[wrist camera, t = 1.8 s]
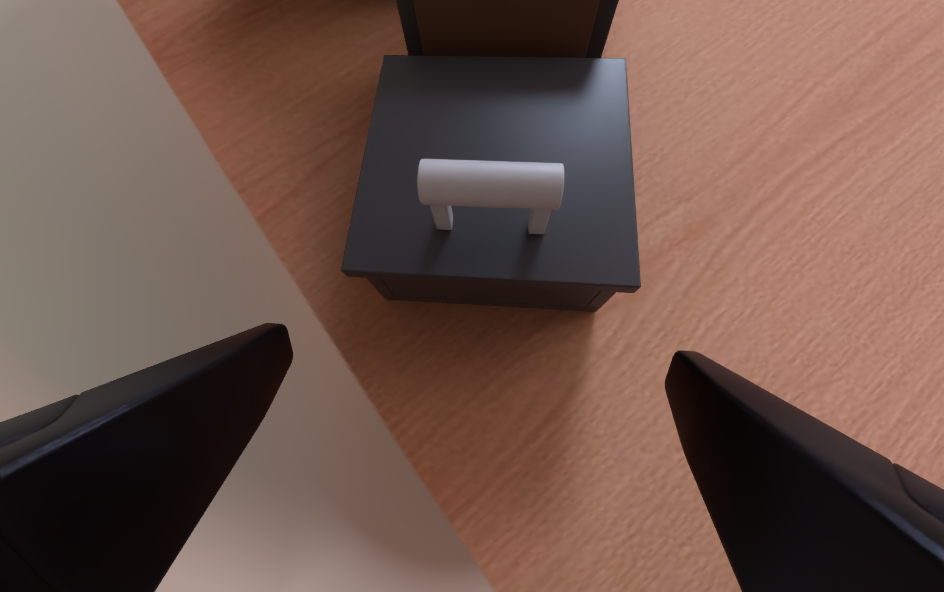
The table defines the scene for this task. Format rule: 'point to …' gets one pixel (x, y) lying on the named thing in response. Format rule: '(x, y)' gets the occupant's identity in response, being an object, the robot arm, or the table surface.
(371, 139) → the lid
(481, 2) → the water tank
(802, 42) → the table surface
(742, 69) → the table surface
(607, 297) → the dark grey box
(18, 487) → the robot arm
